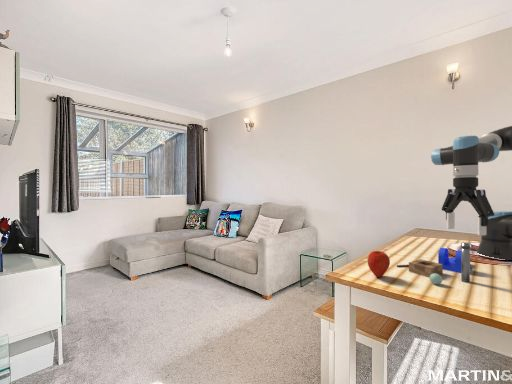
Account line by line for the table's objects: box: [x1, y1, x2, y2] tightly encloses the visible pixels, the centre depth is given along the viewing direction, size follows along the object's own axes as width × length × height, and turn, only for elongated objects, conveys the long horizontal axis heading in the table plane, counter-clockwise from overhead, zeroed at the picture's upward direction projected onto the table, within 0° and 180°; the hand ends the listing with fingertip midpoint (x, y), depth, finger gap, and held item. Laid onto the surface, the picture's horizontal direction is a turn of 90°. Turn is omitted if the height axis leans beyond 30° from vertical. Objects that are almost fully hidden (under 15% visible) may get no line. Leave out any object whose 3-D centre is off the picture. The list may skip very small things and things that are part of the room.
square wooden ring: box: [408, 258, 444, 278], centre depth 109 cm, size 9×9×4 cm
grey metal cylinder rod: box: [460, 241, 471, 284], centre depth 99 cm, size 3×3×15 cm
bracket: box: [437, 247, 461, 274], centre depth 116 cm, size 18×8×9 cm, turn 128°
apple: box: [367, 250, 391, 278], centre depth 106 cm, size 9×8×11 cm
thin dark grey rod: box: [396, 264, 409, 268], centre depth 118 cm, size 14×1×1 cm, turn 94°
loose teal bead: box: [429, 273, 443, 285], centre depth 97 cm, size 4×4×4 cm
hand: (465, 231), depth 98 cm, fingers open, 13 cm apart
